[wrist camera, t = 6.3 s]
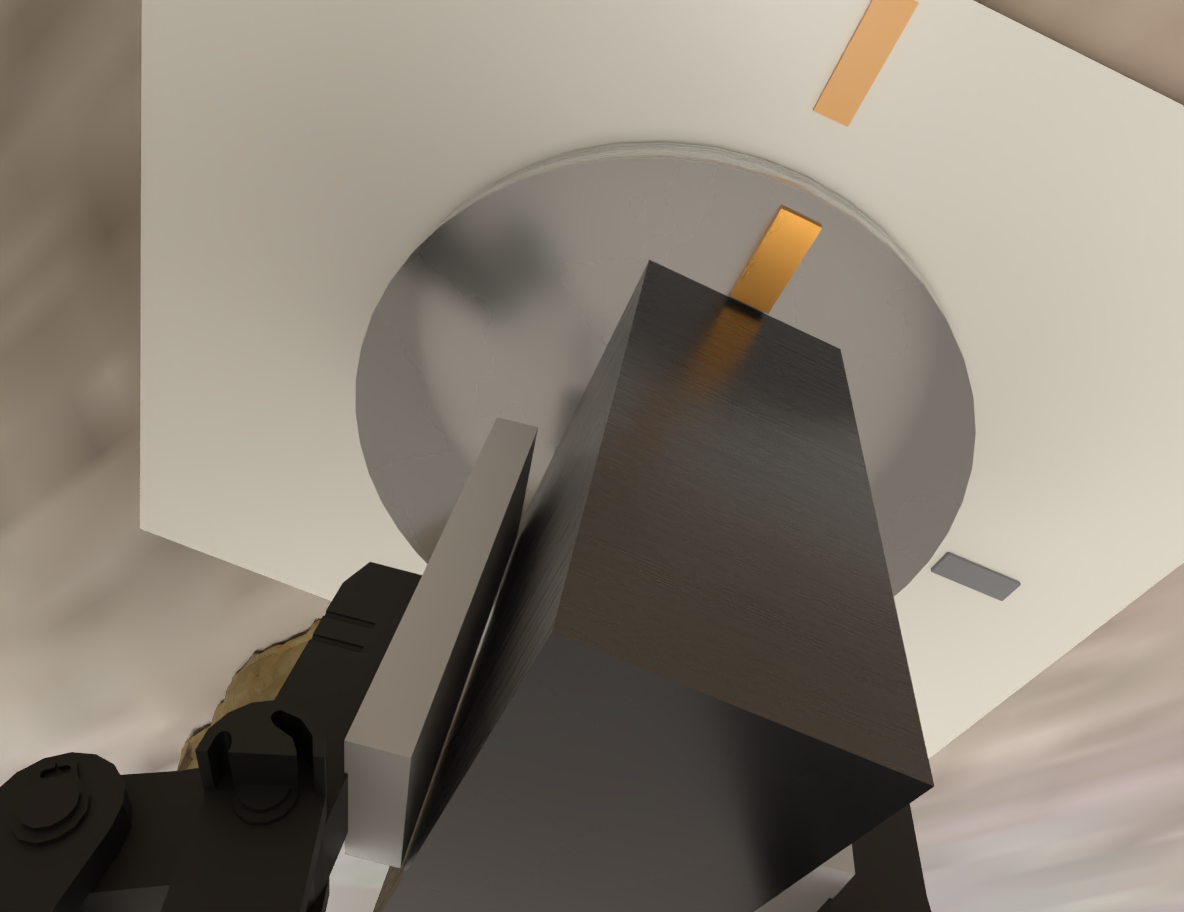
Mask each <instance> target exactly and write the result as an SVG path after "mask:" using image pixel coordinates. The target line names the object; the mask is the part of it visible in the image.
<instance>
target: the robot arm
mask: <svg viewBox="0 0 1184 912" xmlns="http://www.w3.org/2000/svg"><path fill="white" fill-rule="evenodd" d="M537 431H538V427H535V426H531V425H527V424H523V423H519V422H515V421H511V420H507V419H503V418H500V417H497V418H496V420H495V422H494V425H493V427H492V429H491V431H490V433H489V435H488V437H487V439H486V441H485V444H484V446H483V448H482V450H481V452H480V454H479V456H478V458H477V461H476V463H475V465H474V467H473V469H472V471H471V473H470V475H469V477H468V480H467V482H466V484H465V486H464V488H463V490H462V492H461V494H460V497H459V499H458V501H457V503H456V505H455V507H454V509H453V511H452V513H451V516H450V518H449V520H448V522H447V524H446V526H445V528H444V530H443V533H442V535H441V537H440V539H439V541H438V543H437V545H436V547H435V549H434V552H433V554H432V556H431V558H430V560H429V562H428V564H427V566H426V569H425V571H424V573H423V575H419V574H416V573H412V572H408V571H404V570H400V569H396V568H392V567H389V566H385V565H381V564H377V563H373V562H369V563H368V564H366V565H365V566H364V567H362V568H361V569H360V570H359V571H357V572H356V573H355V574H353V575H352V576H351V577H349V578H348V579H347V580H345V581H344V582H343V583H342V585H341V586H340V588H339V590H338V591H337V593H336V595H335V597H334V598H333V600H332V602H331V603H330V605H329V607H328V609H327V610H326V614H325V616H323V617H322V619H321V621H320V622H319V624H318V626H317V627H316V629H315V631H314V633H313V636H312V639H311V640H310V639H309V641H308V643H307V645H306V646H305V648H304V650H303V651H302V653H301V655H300V657H299V658H298V660H297V662H296V663H295V665H294V667H293V669H292V670H291V672H290V674H289V675H288V677H287V679H286V681H285V682H284V684H283V686H282V687H281V689H280V691H279V693H278V694H277V696H276V698H275V699H274V700H271V701H261V702H252V703H250V704H247V705H245V706H242V707H240V708H238V709H235V710H233V711H230V712H228V713H227V714H226V715H225V716H223V717H222V718H221V719H220V720H218V721H217V722H216V723H215V724H214V725H212V726H211V727H210V728H209V729H208V730H207V732H206V733H205V735H204V736H203V738H202V740H201V741H200V743H199V744H198V746H197V748H196V749H195V753H196V758H197V762H198V767H199V768H194V769H188V770H182V771H172V772H157V773H142V774H127V775H120V774H119V772H118V771H117V769H116V767H115V765H114V764H112V763H110V762H109V761H107V760H105V759H103V758H101V757H100V756H98V755H96V754H85V753H74V752H71V753H66V754H62V755H57V756H53V757H48V758H44V759H42V760H40V761H38V762H36V763H34V764H32V765H30V766H28V767H27V768H25V769H23V770H21V771H19V772H17V773H16V774H15V775H13V776H12V777H11V778H10V779H9V780H8V781H7V782H6V783H4V784H3V785H2V786H1V787H0V912H325V911H326V907H327V902H328V897H329V876H330V873H331V871H332V869H333V866H334V864H335V861H336V859H337V857H338V854H339V852H340V850H341V847H342V845H343V842H344V840H345V854H347V855H351V856H355V857H359V858H362V859H366V860H370V861H374V862H378V863H381V864H385V865H389V866H393V867H397V868H401V865H402V863H403V860H404V857H405V854H406V851H407V848H408V846H409V843H410V840H411V837H412V834H413V831H414V828H415V826H416V823H417V820H418V817H419V814H420V811H421V809H422V806H423V803H424V800H425V797H426V794H427V792H428V789H429V786H430V783H431V780H432V777H433V774H434V772H435V769H436V766H437V763H438V760H439V757H440V755H441V752H442V749H443V746H444V743H445V740H446V738H447V735H448V732H449V729H450V726H451V723H452V720H453V718H454V715H455V712H456V709H457V706H458V703H459V701H460V698H461V695H462V692H463V689H464V686H465V684H466V681H467V678H468V675H469V672H470V669H471V666H472V664H473V661H474V658H475V655H476V652H477V649H478V647H479V644H480V641H481V638H482V635H483V632H484V630H485V627H486V624H487V621H488V618H489V615H490V612H491V610H492V607H493V604H494V601H495V598H496V595H497V593H498V590H499V587H500V584H501V581H502V578H503V576H504V573H505V570H506V567H507V564H508V561H509V558H510V556H511V553H512V550H513V547H514V544H515V541H516V539H517V536H518V531H519V525H520V520H521V515H522V510H523V504H524V499H525V494H526V488H527V483H528V478H529V473H530V467H531V462H532V457H533V452H534V446H535V441H536V436H537ZM754 912H931V909H930V906H929V902H928V899H927V895H926V889H925V884H924V879H923V873H922V868H921V862H920V857H919V852H918V846H917V841H916V835H915V830H914V825H913V819H912V814H911V808H910V803H909V804H908V805H906V806H905V807H904V808H902V809H901V810H899V811H898V812H896V813H895V814H894V815H892V816H891V817H889V818H888V819H886V820H885V821H884V822H882V823H881V824H879V825H878V826H876V827H875V828H873V829H872V830H871V831H869V832H868V833H866V834H865V835H863V836H862V837H861V838H859V839H858V840H856V841H855V842H853V843H852V844H851V845H849V846H848V847H846V848H845V849H843V850H842V851H840V852H839V853H838V854H836V855H835V856H833V857H832V858H830V859H829V860H828V861H826V862H825V863H823V864H822V865H820V866H819V867H818V868H816V869H815V870H813V871H812V872H810V873H809V874H808V875H806V876H805V877H803V878H802V879H800V880H799V881H797V882H796V883H795V884H793V885H792V886H790V887H789V888H787V889H786V890H785V891H783V892H782V893H780V894H779V895H777V896H776V897H775V898H773V899H772V900H770V901H769V902H767V903H766V904H764V905H763V906H762V907H760V908H759V909H757V910H756V911H754Z"/></svg>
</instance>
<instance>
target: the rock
mask: <svg viewBox="0 0 1184 912" xmlns="http://www.w3.org/2000/svg"><path fill="white" fill-rule="evenodd" d="M320 621H321V619H319V620H317V621H316V622H314V623H313V625H312V627H311V629H310V630H309V631H308V632H307V633H306V634H304V635H302V636H299V637H297V638H294V639H292V640H290V641H287V642H286V643H285V644H283V645H275V646H272V647H270V648H269V649H267V650H265V651H263V652H262V653H254V654H253V655H252V657H251V658H250V660H249V661H248V663H247V664H245V666H244V668H243V669H241V670H240V671H239V672H238V673H236V674H235V676H234V677H233V678H232V683H231V685H230V686H229V687H228V689H227V691H226V696H225V700H224V701H223V703H221V704H218V706H217V708H216V711H215V713H214V716H213V720H212V723H211V726H212V725H214V724H215V723H216V722H217V721H218V720H220V719H221V718H222V717H223V716H225V715H226V714H227V713H228V712H230V711H233V710H235V709H238V708H240V707H242V706H245V705H247V704H250V703H252V702H261V701H271V700H274V699H275V698H276V696H277V694H278V693H279V691H280V689H281V687H282V686H283V684H284V682H285V681H286V679H287V677H288V675H289V674H290V672H291V670H292V669H293V667H294V665H295V663H296V662H297V660H298V658H299V657H300V655H301V653H302V651H303V650H304V648H305V646H306V645H307V643H308V641H309V639H310V640H311V639H312V636H313V633H314V631H315V629H316V627H317V626H318V624H319V622H320ZM211 726H210V727H211ZM210 727H208V728H206V729H203V730H202V731H200V732H199V733H198V734H196V735H194V736H191V737H190V738H189V739H187V741H186V742H185V745H184V747H183V748H182V752H181V758H180V762H179V765H178V769H177V771H182V770H188V769H194V768H199V767H198V762H197V758H196V753H195V749H196V748H197V746H198V744H199V743H200V741H201V740H202V738H203V736H204V735H205V733H206V732H207V730H208V729H209V728H210Z"/></svg>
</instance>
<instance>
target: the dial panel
mask: <svg viewBox="0 0 1184 912" xmlns="http://www.w3.org/2000/svg"><path fill="white" fill-rule="evenodd" d="M632 142H677V143H686V144H695V145H704V146H713V147H719V148H723V149H727V150H731V151H735V152H739V153H742V154H746V155H750V156H754V157H758V158H762V159H765V160H767V161H770V162H772V163H775V164H777V165H780V166H782V167H785V168H787V169H790V170H792V171H794V172H797V173H799V174H802V175H804V176H807V177H809V178H810V179H812V180H814V181H816V182H817V183H819V184H821V185H822V186H824V187H826V188H827V189H829V190H831V191H833V192H834V193H836V194H838V195H839V196H841V197H843V198H845V199H846V200H848V201H849V202H850V203H852V204H853V205H854V206H855V207H857V208H858V209H859V210H860V211H862V212H863V213H864V214H865V215H867V216H868V217H869V218H870V219H872V220H873V221H874V222H875V223H877V224H878V225H879V226H880V227H881V228H883V229H884V230H885V231H886V232H887V234H888V235H889V236H890V237H891V238H892V239H893V240H894V241H895V242H896V243H897V245H898V246H899V247H900V248H901V249H902V250H903V251H904V252H905V253H906V254H907V255H908V257H909V258H910V259H911V260H912V261H913V262H914V264H915V266H916V267H917V269H918V270H919V272H920V273H921V275H922V276H923V278H924V279H925V281H926V282H927V284H928V285H929V287H930V288H931V290H932V291H933V293H934V294H935V296H936V298H937V300H938V302H939V305H940V307H941V309H942V311H943V313H944V315H945V317H946V319H947V321H948V323H949V326H950V328H951V330H952V333H953V335H954V337H955V339H956V342H957V344H958V346H959V348H960V351H961V353H962V355H963V357H964V361H965V365H966V369H967V373H968V377H969V381H970V385H971V389H972V393H973V399H974V413H975V428H976V437H975V446H974V456H973V465H972V471H971V474H970V478H969V481H968V485H967V489H966V492H965V496H964V499H963V502H962V505H961V507H960V509H959V511H958V513H957V515H956V517H955V519H954V522H953V524H952V526H951V528H950V530H949V532H948V534H947V535H946V537H945V538H944V540H943V541H942V543H941V544H940V546H939V547H938V549H937V550H936V552H935V553H934V555H933V556H932V558H931V559H930V561H929V562H928V563H927V564H926V565H925V566H924V567H923V568H922V570H921V571H920V572H919V573H918V574H917V575H916V576H915V577H914V578H913V580H912V581H911V582H910V583H909V584H908V585H907V586H906V587H905V588H904V589H902V590H901V591H900V592H899V593H898V594H897V595H895V596H894V601H895V606H896V610H897V615H898V620H899V624H900V629H901V634H902V639H903V643H904V648H905V653H906V657H907V662H908V667H909V671H910V676H911V681H912V685H913V690H914V695H915V699H916V704H917V709H918V713H919V718H920V723H921V727H922V732H923V737H924V741H925V746H926V751H927V755H928V759H929V758H930V757H931V756H933V755H934V754H935V753H937V752H938V751H939V750H940V749H942V748H943V747H944V746H946V745H947V744H948V743H950V742H951V741H952V740H953V739H955V738H956V737H957V736H959V735H960V734H961V733H963V732H964V731H965V730H966V729H968V728H969V727H970V726H972V725H973V724H974V723H976V722H977V721H978V720H979V719H981V718H982V717H983V716H985V715H986V714H987V713H989V712H990V711H991V710H992V709H994V708H995V707H996V706H998V705H999V704H1000V703H1002V702H1003V701H1004V700H1005V699H1007V698H1008V697H1009V696H1011V695H1012V694H1013V693H1015V692H1016V691H1017V690H1018V689H1020V688H1021V687H1022V686H1024V685H1025V684H1026V683H1027V682H1029V681H1030V680H1031V679H1033V678H1034V677H1035V676H1037V675H1038V674H1039V673H1040V672H1042V671H1043V670H1044V669H1046V668H1047V667H1048V666H1050V665H1051V664H1052V663H1053V662H1055V661H1056V660H1057V659H1059V658H1060V657H1061V656H1063V655H1064V654H1065V653H1066V652H1068V651H1069V650H1070V649H1072V648H1073V647H1074V646H1076V645H1077V644H1078V643H1079V642H1081V641H1082V640H1083V639H1085V638H1086V637H1087V636H1089V635H1090V634H1091V633H1092V632H1094V631H1095V630H1096V629H1098V628H1099V627H1100V626H1102V625H1103V624H1104V623H1105V622H1107V621H1108V620H1109V619H1111V618H1112V617H1113V616H1114V615H1116V614H1117V613H1118V612H1120V611H1121V610H1122V609H1124V608H1125V607H1126V606H1127V605H1129V604H1130V603H1131V602H1133V601H1134V600H1135V599H1137V598H1138V597H1139V596H1140V595H1142V594H1143V593H1144V592H1146V591H1147V590H1148V589H1150V588H1151V587H1152V586H1153V585H1155V584H1156V583H1157V582H1159V581H1160V580H1161V579H1163V578H1164V577H1165V576H1166V575H1168V574H1169V573H1170V572H1172V571H1173V570H1174V569H1176V568H1177V567H1178V566H1179V565H1181V564H1182V563H1183V562H1184V105H1182V104H1180V103H1178V102H1176V101H1174V100H1172V99H1170V98H1168V97H1166V96H1164V95H1162V94H1160V93H1158V92H1156V91H1154V90H1152V89H1150V88H1148V87H1146V86H1144V85H1142V84H1140V83H1138V82H1136V81H1134V80H1132V79H1130V78H1128V77H1126V76H1124V75H1122V74H1120V73H1118V72H1116V71H1114V70H1112V69H1110V68H1108V67H1106V66H1104V65H1102V64H1100V63H1098V62H1096V61H1094V60H1092V59H1090V58H1088V57H1086V56H1084V55H1082V54H1080V53H1078V52H1076V51H1074V50H1072V49H1070V48H1068V47H1066V46H1064V45H1062V44H1060V43H1058V42H1056V41H1054V40H1052V39H1050V38H1048V37H1046V36H1044V35H1042V34H1040V33H1038V32H1036V31H1034V30H1032V29H1030V28H1028V27H1026V26H1024V25H1022V24H1020V23H1018V22H1016V21H1014V20H1012V19H1010V18H1008V17H1006V16H1004V15H1002V14H1000V13H998V12H996V11H994V10H992V9H990V8H988V7H986V6H984V5H982V4H980V3H978V2H976V1H974V0H142V52H141V335H140V529H142V530H145V531H148V532H150V533H153V534H156V535H158V536H161V537H164V538H166V539H169V540H171V541H174V542H177V543H179V544H182V545H185V546H187V547H190V548H192V549H195V550H198V551H200V552H203V553H206V554H208V555H211V556H214V557H216V558H219V559H221V560H224V561H227V562H229V563H232V564H235V565H237V566H240V567H243V568H245V569H248V570H250V571H253V572H256V573H258V574H261V575H264V576H266V577H269V578H272V579H274V580H277V581H279V582H282V583H285V584H287V585H290V586H293V587H295V588H298V589H301V590H303V591H306V592H308V593H311V594H314V595H316V596H319V597H322V598H324V599H327V600H330V601H332V600H333V598H334V597H335V595H336V593H337V591H338V590H339V588H340V586H341V585H342V583H343V582H344V581H345V580H347V579H348V578H349V577H351V576H352V575H353V574H355V573H356V572H357V571H359V570H360V569H361V568H362V567H364V566H365V565H366V564H368V563H369V562H373V563H377V564H381V565H385V566H389V567H392V568H396V569H400V570H404V571H408V572H412V573H416V574H419V575H423V573H424V571H425V569H426V566H427V563H426V562H425V561H424V560H423V559H422V558H421V557H420V556H419V555H418V554H417V553H416V551H415V550H414V549H413V548H412V546H411V545H410V544H409V542H408V541H407V540H406V539H405V537H404V536H403V535H402V533H401V532H400V531H399V530H398V528H397V527H396V525H395V523H394V522H393V520H392V518H391V517H390V515H389V513H388V512H387V510H386V508H385V507H384V505H383V503H382V502H381V500H380V497H379V495H378V493H377V491H376V488H375V486H374V484H373V482H372V479H371V477H370V475H369V472H368V469H367V465H366V462H365V459H364V455H363V452H362V449H361V445H360V440H359V433H358V426H357V419H356V412H355V407H356V375H357V369H358V363H359V357H360V351H361V346H362V343H363V340H364V337H365V334H366V331H367V328H368V325H369V322H370V319H371V316H372V314H373V312H374V310H375V308H376V306H377V305H378V303H379V301H380V299H381V297H382V295H383V293H384V291H385V290H386V288H387V286H388V284H389V282H390V281H391V280H392V278H393V277H394V276H395V275H396V273H397V272H398V271H399V269H400V268H401V267H402V265H403V264H404V263H405V261H406V260H407V259H408V258H409V256H410V255H411V254H412V252H413V251H414V250H415V249H416V248H417V247H418V246H419V245H420V244H421V243H422V242H423V241H424V240H425V239H426V237H427V236H428V235H429V234H430V233H431V232H432V231H433V230H434V229H435V228H436V227H438V226H439V225H440V224H441V223H442V222H443V221H444V220H445V219H446V218H447V217H448V216H449V215H450V214H451V213H452V212H453V211H454V210H456V209H457V208H458V207H459V206H460V205H461V204H463V203H464V202H466V201H467V200H469V199H470V198H472V197H473V196H475V195H476V194H477V193H479V192H480V191H482V190H483V189H485V188H486V187H488V186H489V185H490V184H492V183H494V182H496V181H498V180H500V179H502V178H504V177H506V176H508V175H510V174H512V173H514V172H516V171H518V170H520V169H522V168H524V167H527V166H529V165H531V164H533V163H537V162H540V161H543V160H546V159H549V158H552V157H555V156H559V155H562V154H565V153H568V152H571V151H574V150H580V149H586V148H592V147H598V146H604V145H610V144H616V143H632Z"/></svg>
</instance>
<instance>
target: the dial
mask: <svg viewBox="0 0 1184 912" xmlns="http://www.w3.org/2000/svg"><path fill="white" fill-rule="evenodd" d="M355 412H356V419H357V426H358V433H359V440H360V445H361V449H362V452H363V455H364V459H365V462H366V465H367V469H368V472H369V475H370V477H371V479H372V482H373V484H374V486H375V488H376V491H377V493H378V495H379V497H380V500H381V502H382V503H383V505H384V507H385V508H386V510H387V512H388V513H389V515H390V517H391V518H392V520H393V522H394V523H395V525H396V527H397V528H398V530H399V531H400V532H401V533H402V535H403V536H404V537H405V539H406V540H407V541H408V542H409V544H410V545H411V546H412V548H413V549H414V550H415V551H416V553H417V554H418V555H419V556H420V557H421V558H422V559H423V560H424V561H425V562H426V563H427V564H428V562H429V560H430V558H431V556H432V554H433V552H434V549H435V547H436V545H437V543H438V541H439V539H440V537H441V535H442V533H443V530H444V528H445V526H446V524H447V522H448V520H449V518H450V516H451V513H452V511H453V509H454V507H455V505H456V503H457V501H458V499H459V497H460V494H461V492H462V490H463V488H464V486H465V484H466V482H467V480H468V477H469V475H470V473H471V471H472V469H473V467H474V465H475V463H476V461H477V458H478V456H479V454H480V452H481V450H482V448H483V446H484V444H485V441H486V439H487V437H488V435H489V433H490V431H491V429H492V427H493V425H494V422H495V420H496V418H497V417H500V418H503V419H507V420H511V421H515V422H519V423H523V424H527V425H531V426H535V427H538V431H537V436H536V441H535V446H534V452H533V457H532V462H531V467H530V473H529V478H528V483H527V488H526V494H525V499H524V504H523V510H522V515H521V520H520V525H519V531H518V536H517V539H516V541H515V544H514V547H513V550H512V553H511V556H510V558H509V561H508V564H507V567H506V570H505V573H504V576H503V578H502V581H501V584H500V587H499V590H498V593H497V595H496V598H495V601H494V604H493V607H492V610H491V612H490V615H489V618H488V621H487V624H486V627H485V630H484V632H483V635H482V638H481V641H480V644H479V647H478V649H477V652H476V655H475V658H474V661H473V664H472V666H471V669H470V672H469V675H468V678H467V681H466V684H465V686H464V689H463V692H462V695H461V698H460V701H459V703H458V706H457V709H456V712H455V715H454V718H453V720H452V723H451V726H450V729H449V732H448V735H447V738H446V740H445V743H444V746H443V749H442V752H441V755H440V757H439V760H438V763H437V766H436V769H435V772H434V774H433V777H432V780H431V783H430V786H429V789H428V792H427V794H426V797H425V800H424V803H423V806H422V809H421V811H420V814H419V817H418V820H417V823H416V826H415V828H414V831H413V834H412V837H411V840H410V843H409V846H408V848H407V851H406V854H405V857H404V860H403V863H402V865H401V868H397V867H393V866H390V867H389V870H388V873H387V875H386V878H385V881H384V883H383V886H382V889H381V892H380V894H379V898H378V900H377V903H376V905H375V908H374V911H373V912H754V911H756V910H757V909H759V908H760V907H762V906H763V905H764V904H766V903H767V902H769V901H770V900H772V899H773V898H775V897H776V896H777V895H779V894H780V893H782V892H783V891H785V890H786V889H787V888H789V887H790V886H792V885H793V884H795V883H796V882H797V881H799V880H800V879H802V878H803V877H805V876H806V875H808V874H809V873H810V872H812V871H813V870H815V869H816V868H818V867H819V866H820V865H822V864H823V863H825V862H826V861H828V860H829V859H830V858H832V857H833V856H835V855H836V854H838V853H839V852H840V851H842V850H843V849H845V848H846V847H848V846H849V845H851V844H852V843H853V842H855V841H856V840H858V839H859V838H861V837H862V836H863V835H865V834H866V833H868V832H869V831H871V830H872V829H873V828H875V827H876V826H878V825H879V824H881V823H882V822H884V821H885V820H886V819H888V818H889V817H891V816H892V815H894V814H895V813H896V812H898V811H899V810H901V809H902V808H904V807H905V806H906V805H908V804H909V803H911V802H912V801H914V800H915V799H917V798H918V797H919V796H921V795H922V794H924V793H925V792H927V791H928V790H929V789H931V788H932V787H934V783H933V779H932V774H931V769H930V765H929V760H928V755H927V751H926V746H925V741H924V737H923V732H922V727H921V723H920V718H919V713H918V709H917V704H916V699H915V695H914V690H913V685H912V681H911V676H910V671H909V667H908V662H907V657H906V653H905V648H904V643H903V639H902V634H901V629H900V624H899V620H898V615H897V610H896V606H895V601H894V596H895V595H897V594H898V593H899V592H900V591H901V590H902V589H904V588H905V587H906V586H907V585H908V584H909V583H910V582H911V581H912V580H913V578H914V577H915V576H916V575H917V574H918V573H919V572H920V571H921V570H922V568H923V567H924V566H925V565H926V564H927V563H928V562H929V561H930V559H931V558H932V556H933V555H934V553H935V552H936V550H937V549H938V547H939V546H940V544H941V543H942V541H943V540H944V538H945V537H946V535H947V534H948V532H949V530H950V528H951V526H952V524H953V522H954V519H955V517H956V515H957V513H958V511H959V509H960V507H961V505H962V502H963V499H964V496H965V492H966V489H967V485H968V481H969V478H970V474H971V471H972V465H973V456H974V446H975V437H976V428H975V413H974V399H973V393H972V389H971V385H970V381H969V377H968V373H967V369H966V365H965V361H964V357H963V355H962V353H961V351H960V348H959V346H958V344H957V342H956V339H955V337H954V335H953V333H952V330H951V328H950V326H949V323H948V321H947V319H946V317H945V315H944V313H943V311H942V309H941V307H940V305H939V302H938V300H937V298H936V296H935V294H934V293H933V291H932V290H931V288H930V287H929V285H928V284H927V282H926V281H925V279H924V278H923V276H922V275H921V273H920V272H919V270H918V269H917V267H916V266H915V264H914V262H913V261H912V260H911V259H910V258H909V257H908V255H907V254H906V253H905V252H904V251H903V250H902V249H901V248H900V247H899V246H898V245H897V243H896V242H895V241H894V240H893V239H892V238H891V237H890V236H889V235H888V234H887V232H886V231H885V230H884V229H883V228H881V227H880V226H879V225H878V224H877V223H875V222H874V221H873V220H872V219H870V218H869V217H868V216H867V215H865V214H864V213H863V212H862V211H860V210H859V209H858V208H857V207H855V206H854V205H853V204H852V203H850V202H849V201H848V200H846V199H845V198H843V197H841V196H839V195H838V194H836V193H834V192H833V191H831V190H829V189H827V188H826V187H824V186H822V185H821V184H819V183H817V182H816V181H814V180H812V179H810V178H809V177H807V176H804V175H802V174H799V173H797V172H794V171H792V170H790V169H787V168H785V167H782V166H780V165H777V164H775V163H772V162H770V161H767V160H765V159H762V158H758V157H754V156H750V155H746V154H742V153H739V152H735V151H731V150H727V149H723V148H719V147H713V146H704V145H695V144H686V143H677V142H632V143H616V144H610V145H604V146H598V147H592V148H586V149H580V150H574V151H571V152H568V153H565V154H562V155H559V156H555V157H552V158H549V159H546V160H543V161H540V162H537V163H533V164H531V165H529V166H527V167H524V168H522V169H520V170H518V171H516V172H514V173H512V174H510V175H508V176H506V177H504V178H502V179H500V180H498V181H496V182H494V183H492V184H490V185H489V186H488V187H486V188H485V189H483V190H482V191H480V192H479V193H477V194H476V195H475V196H473V197H472V198H470V199H469V200H467V201H466V202H464V203H463V204H461V205H460V206H459V207H458V208H457V209H456V210H454V211H453V212H452V213H451V214H450V215H449V216H448V217H447V218H446V219H445V220H444V221H443V222H442V223H441V224H440V225H439V226H438V227H436V228H435V229H434V230H433V231H432V232H431V233H430V234H429V235H428V236H427V237H426V239H425V240H424V241H423V242H422V243H421V244H420V245H419V246H418V247H417V248H416V249H415V250H414V251H413V252H412V254H411V255H410V256H409V258H408V259H407V260H406V261H405V263H404V264H403V265H402V267H401V268H400V269H399V271H398V272H397V273H396V275H395V276H394V277H393V278H392V280H391V281H390V282H389V284H388V286H387V288H386V290H385V291H384V293H383V295H382V297H381V299H380V301H379V303H378V305H377V306H376V308H375V310H374V312H373V314H372V316H371V319H370V322H369V325H368V328H367V331H366V334H365V337H364V340H363V343H362V346H361V351H360V357H359V363H358V369H357V375H356V407H355Z"/></svg>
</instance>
